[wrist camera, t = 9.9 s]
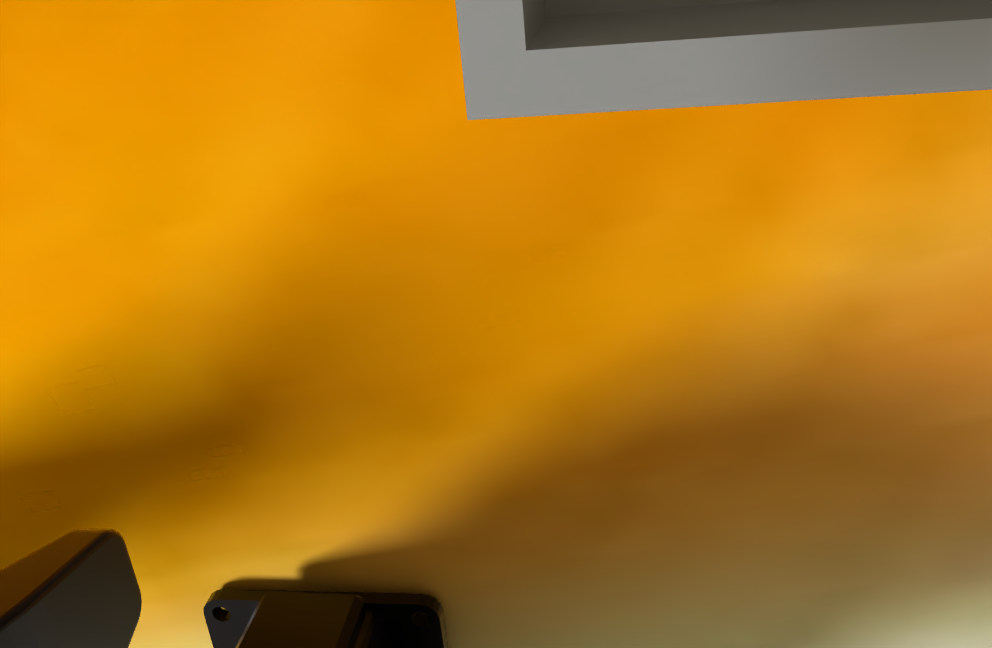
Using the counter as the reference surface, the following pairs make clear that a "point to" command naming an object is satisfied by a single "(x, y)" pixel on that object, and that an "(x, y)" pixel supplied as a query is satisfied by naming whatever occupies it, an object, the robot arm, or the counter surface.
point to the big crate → (713, 52)
